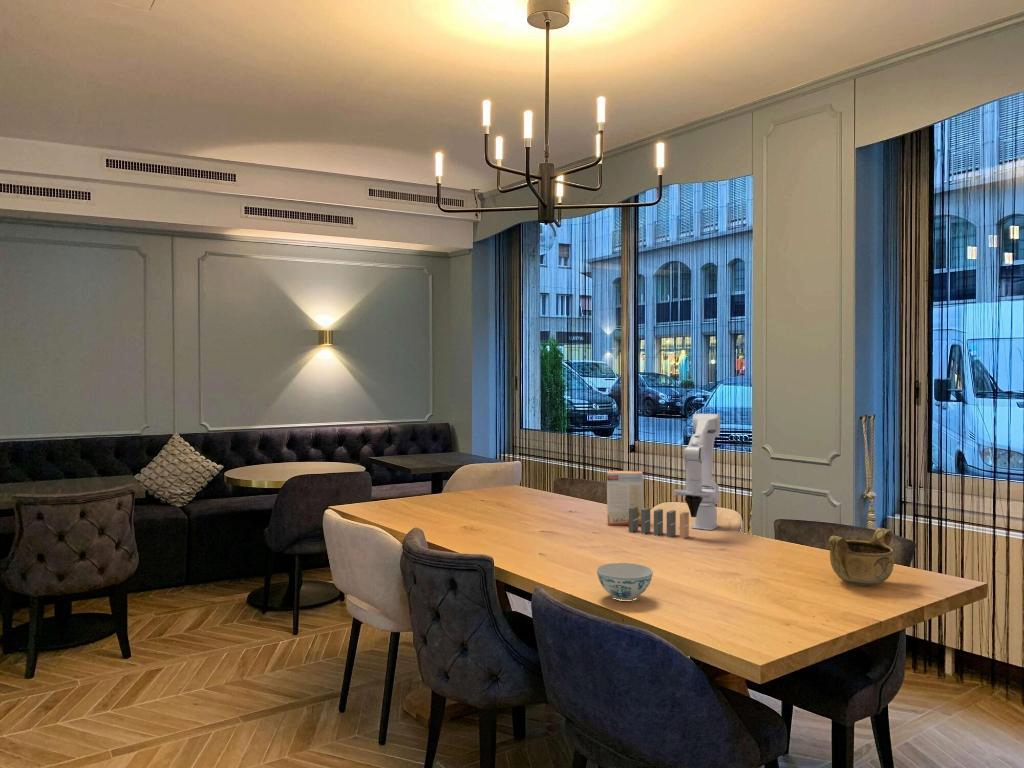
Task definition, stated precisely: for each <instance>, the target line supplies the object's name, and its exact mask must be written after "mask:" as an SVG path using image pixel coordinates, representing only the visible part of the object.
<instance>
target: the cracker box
mask: <svg viewBox="0 0 1024 768" xmlns="http://www.w3.org/2000/svg"><path fill="white" fill-rule="evenodd" d="M606 490H607V491H606V505H607V506H606V510H607V511H606V512H607V514H606V515H607V521H606V522H607V525H608V526H629V508H631V507H634V506H636V507H638V526H639V525H641V510H642V509H644V473H643V471H641V470H639V471H637V470H607V471H606Z"/></svg>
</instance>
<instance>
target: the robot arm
mask: <svg viewBox="0 0 1024 768" xmlns="http://www.w3.org/2000/svg"><path fill="white" fill-rule="evenodd" d="M721 421H722V420H721V416H720V414H719V413H694V414H693V416H692V427H693V429H694V433H693V434H692V435H691V437H690V439H689V442H688V445H687V446H685V447H684V450H683V460H684V467H685V489H674V490H673V496H676V497H677V496H682V497H684V501H685V503H686V505H687V506H688V509H689V515H690V517H691V518H694V519H695V521H694V525H693V526H691V529H696V530H697V529H698V530H706V531H712V530H715V529H716V528H718V527H719V526H720V525H719V524H717V523H718V520H717V518H718V515H717V514H718V511H717V507H716V506H715V505H718V503H719V501H720V500H719V499H720V493H719V489H720V488H719V485H718V483H716V482H715V481H714V480H713V477H712V476H713V460H714V446H715V445H714V444H715V441H716V438H717V437H719V436H720V433H721Z"/></svg>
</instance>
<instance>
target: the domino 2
mask: <svg viewBox="0 0 1024 768" xmlns="http://www.w3.org/2000/svg"><path fill="white" fill-rule="evenodd" d="M661 533H662V534H663V533H664V509H663V508H657V509H656V510H653V536H656V535H658V536H660V535H662V534H661ZM659 534H660V535H659Z"/></svg>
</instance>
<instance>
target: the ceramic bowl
mask: <svg viewBox="0 0 1024 768" xmlns="http://www.w3.org/2000/svg"><path fill="white" fill-rule="evenodd" d="M892 537H893V532H892V530H891V529H888V528H882V527H878V528H876V530H875V531H874V533H873V535H872V539H871V540H870V541H865V540H855V539H853V540H852V539H851V540H850V539H845V537H842V536H837V535H831V536H830V537H829V539H828V545H829V549H830V551H829V558H830V559H829V561H830V565H831V567H832V570H833V573H834V574H835V575H836V576H837V577H838V578H840V580H842V581H843V582H845V583H847V584H849V585H851V584H852V586H855V587H862V588H871V587H874V586H878V585H880V584H881V583H884V582H885V581H887V580H888V579H889V578H890V576H891V575H892V573H893V570H894V566H895V565H894V564H895V556H894V550H893V548H892V547H891V546H890V543H891V541H892Z"/></svg>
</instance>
